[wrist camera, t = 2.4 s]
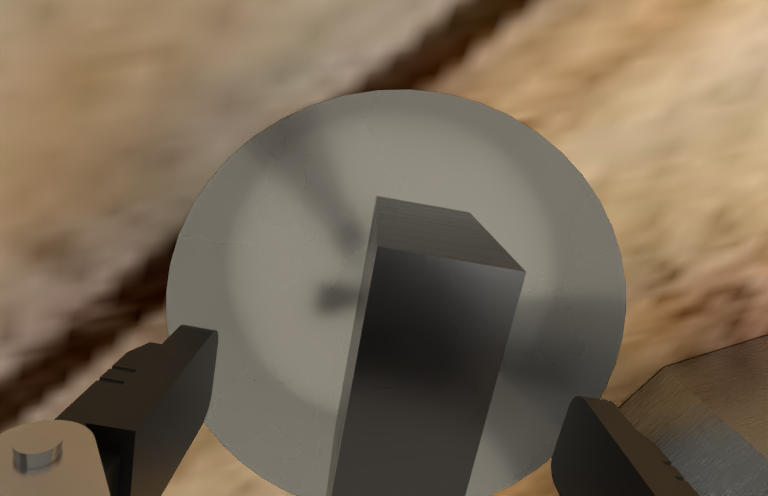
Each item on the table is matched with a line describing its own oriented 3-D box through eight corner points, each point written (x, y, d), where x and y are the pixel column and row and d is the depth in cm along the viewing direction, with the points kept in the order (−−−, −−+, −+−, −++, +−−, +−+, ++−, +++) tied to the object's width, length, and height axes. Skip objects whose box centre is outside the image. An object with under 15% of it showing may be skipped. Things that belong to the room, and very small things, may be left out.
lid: (201, 49, 12) (44, -7, 6) (664, 138, 13) (892, 158, 7) (169, 458, 16) (47, 662, 10) (542, 509, 16) (634, 727, 11)
